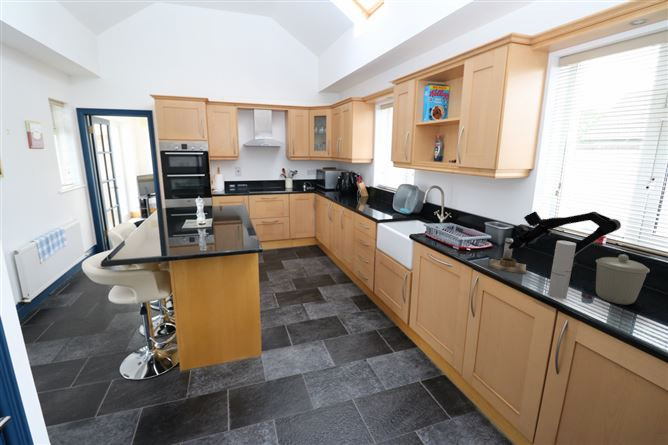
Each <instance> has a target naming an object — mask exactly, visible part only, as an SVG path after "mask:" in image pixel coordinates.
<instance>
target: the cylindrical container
mask: <svg viewBox="0 0 668 445" xmlns="http://www.w3.org/2000/svg"><path fill="white" fill-rule="evenodd" d="M555 243H556V244H555V249H554V256H553V260H552V266H551V273H550V280H549V284H548V289H547V290H548V292H547V294H548V296H550V297H552V296H553V298H556V299H561V300H564V299H567V296H568V291H569V284H570V281H571V280H570V275H571V270H572V265H573V259H574V258H575V257H574V254H575V248H576V244H577V243H576V242H572V241H567V240H557V241H556V242H555ZM574 260H575V259H574Z"/></svg>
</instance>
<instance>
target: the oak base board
mask: <svg viewBox="0 0 668 445" xmlns="http://www.w3.org/2000/svg"><path fill="white" fill-rule="evenodd" d="M488 269H494V270H499V271H503V272H512V273H515V274H516V273H517V274H522V275H526V271H527V263H526V264H525V263H520V262H516V267H505V266H502V265H500V259H494V258H491V259H490V262H489V265H488Z"/></svg>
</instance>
